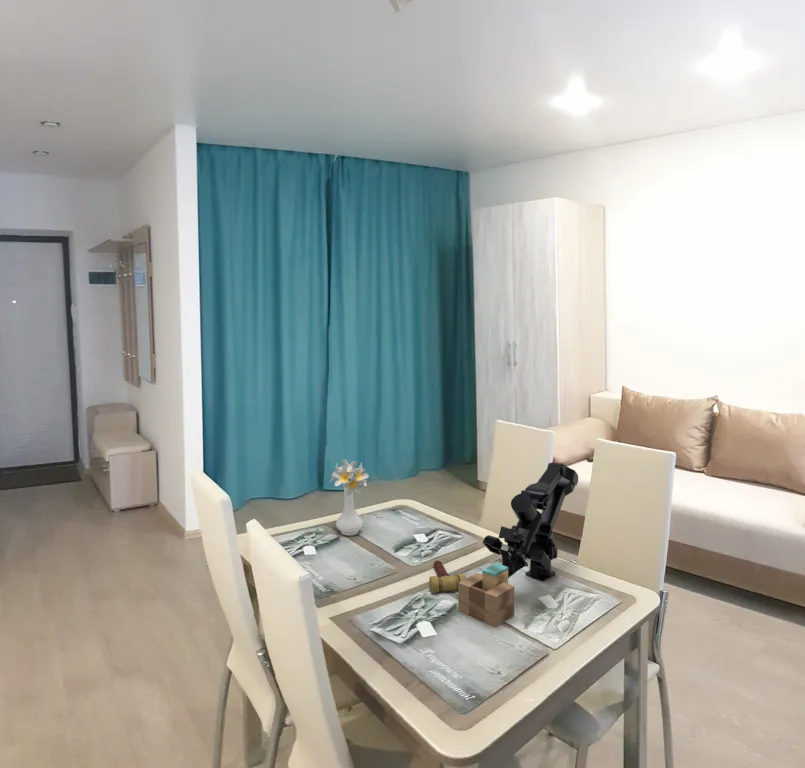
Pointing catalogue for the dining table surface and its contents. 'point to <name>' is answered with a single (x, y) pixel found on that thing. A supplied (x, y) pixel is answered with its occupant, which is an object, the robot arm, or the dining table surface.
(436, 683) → the dining table surface
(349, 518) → the flower vase
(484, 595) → the socket block
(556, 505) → the robot arm
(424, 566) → the dining table surface
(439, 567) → the gavel
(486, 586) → the block
